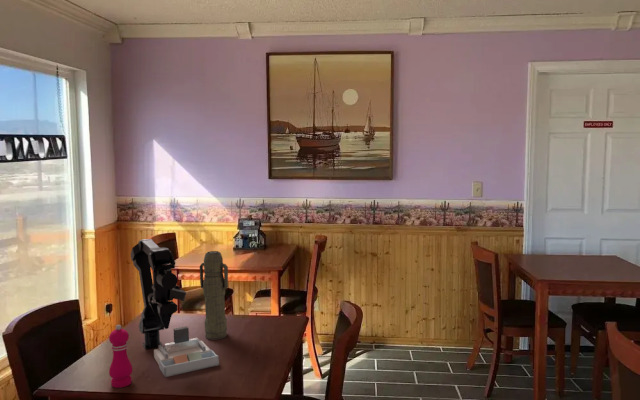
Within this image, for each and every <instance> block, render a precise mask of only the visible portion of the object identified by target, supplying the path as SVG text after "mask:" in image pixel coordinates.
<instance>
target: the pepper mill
mask: <svg viewBox="0 0 640 400" xmlns="http://www.w3.org/2000/svg"><path fill="white" fill-rule="evenodd" d="M129 336H130V335H129V332H128V331H127V330H126V329H124V328H122V325H121V324H116V325H115V329H114V330H112V331H111V332H110V334H109V336H108V340H109V342H110V344H111V345H110V346H111V348H110V349H111V350H112V361H111V363H110V365H109V370H108V371H109V372H108V373H109V377H111V380H110V381H111V386H112V388H117V389H119V388H125V387H127V386H130V385H131V384H132V383H133V382H132V381H133V379H132V376H131V375H132V373H133V372H134V371H133V365H132V363H131V360H130V359H129V357H128V354H127V349H128V343H129V342H128V340H129V338H130V337H129Z"/></svg>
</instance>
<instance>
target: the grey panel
mask: <svg viewBox="0 0 640 400" xmlns="http://www.w3.org/2000/svg"><path fill="white" fill-rule="evenodd" d="M189 331H190V329H189V327H188V326H182V327H181V326H179V327H176V328H175V327H174V328H173V341H171V342H167V343H164V348H165V351H166V352H167V353H171V352H176V351H181V350H186V349H191V348H196V347H199V341H198V339H199V338H198V337H194V338H190V333H189Z"/></svg>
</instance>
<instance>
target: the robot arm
mask: <svg viewBox="0 0 640 400" xmlns="http://www.w3.org/2000/svg"><path fill="white" fill-rule="evenodd" d="M130 259H131V261H132V264H133V267H134V268H135V269H136V270H137V271H138V274H139V276H138V277H139V280H140V287H141V288H140V290H141V293H142V300H143V310H142V311H141V315H140V316H141V318H140V321H139V323H138V329H139V332H140V333H141V334H142V335H143V334H144V335H143V337H144V342H142V346H143V348H144V349H145V350H149V349H154V348H155V349H156V348H158V345H162V346H163V343H162V342H161V338H160V337H161V336H160V331H163V330H168V329H169V327H170V324H171V323H170V322H171V318H172V315H173V314H175V313H176V312H177V311H178V310H179V309H178V308H179V307H178V306H179V305H178V304H177V303H175V302H174V300H179V301H181V302H184V301H185V298H186V295H187V292H186V291H185V290H183V289H181V287H180V285H178V281H179V280H178V276H177V275H176V274H174V273H173V270H172V269H176V260H175V258H174V255H173V253H172V251H171V250H170V249H169V248H168V247H160V246H159V245H158V244H156V243H155V242H154V239H152V238H146V239H145V238H143V239H140V240H138V243H137V244H135V245H134V246H133V247H131V250H130Z"/></svg>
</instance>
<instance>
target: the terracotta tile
mask: <svg viewBox="0 0 640 400" xmlns="http://www.w3.org/2000/svg"><path fill="white" fill-rule="evenodd" d="M173 360H174V364H179V363H184V362H188V359H187V356H186V354H185V355H180V356H175V357H173Z"/></svg>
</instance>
